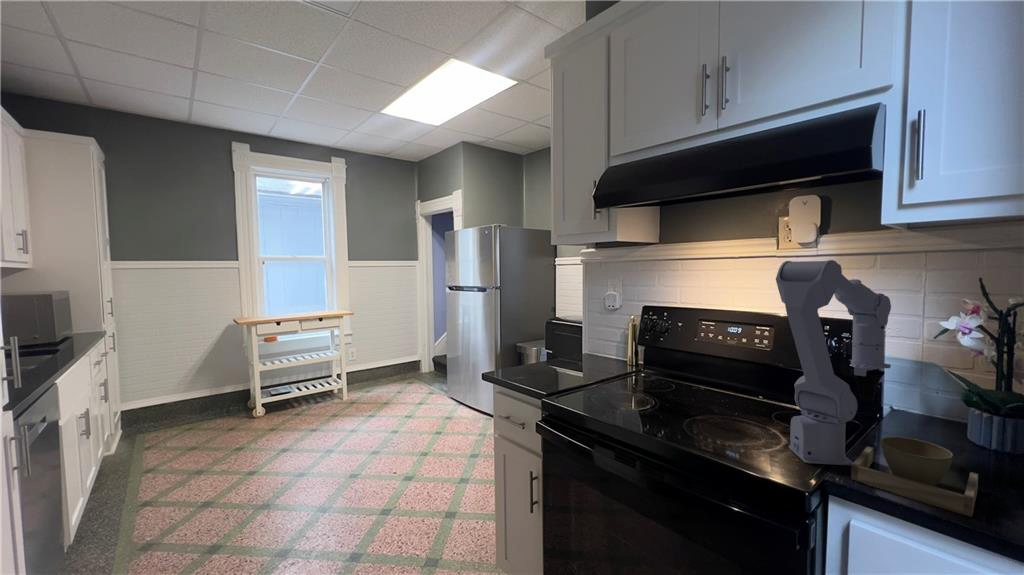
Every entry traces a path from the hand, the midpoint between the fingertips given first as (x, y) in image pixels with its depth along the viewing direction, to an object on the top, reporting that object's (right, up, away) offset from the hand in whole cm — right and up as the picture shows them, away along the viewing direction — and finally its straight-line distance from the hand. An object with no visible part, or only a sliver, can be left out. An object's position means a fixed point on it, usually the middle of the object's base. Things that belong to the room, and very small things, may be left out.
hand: (866, 400), depth 99 cm
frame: (-7, -11, -19) cm, 23 cm away
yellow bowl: (-6, -11, -18) cm, 22 cm away
